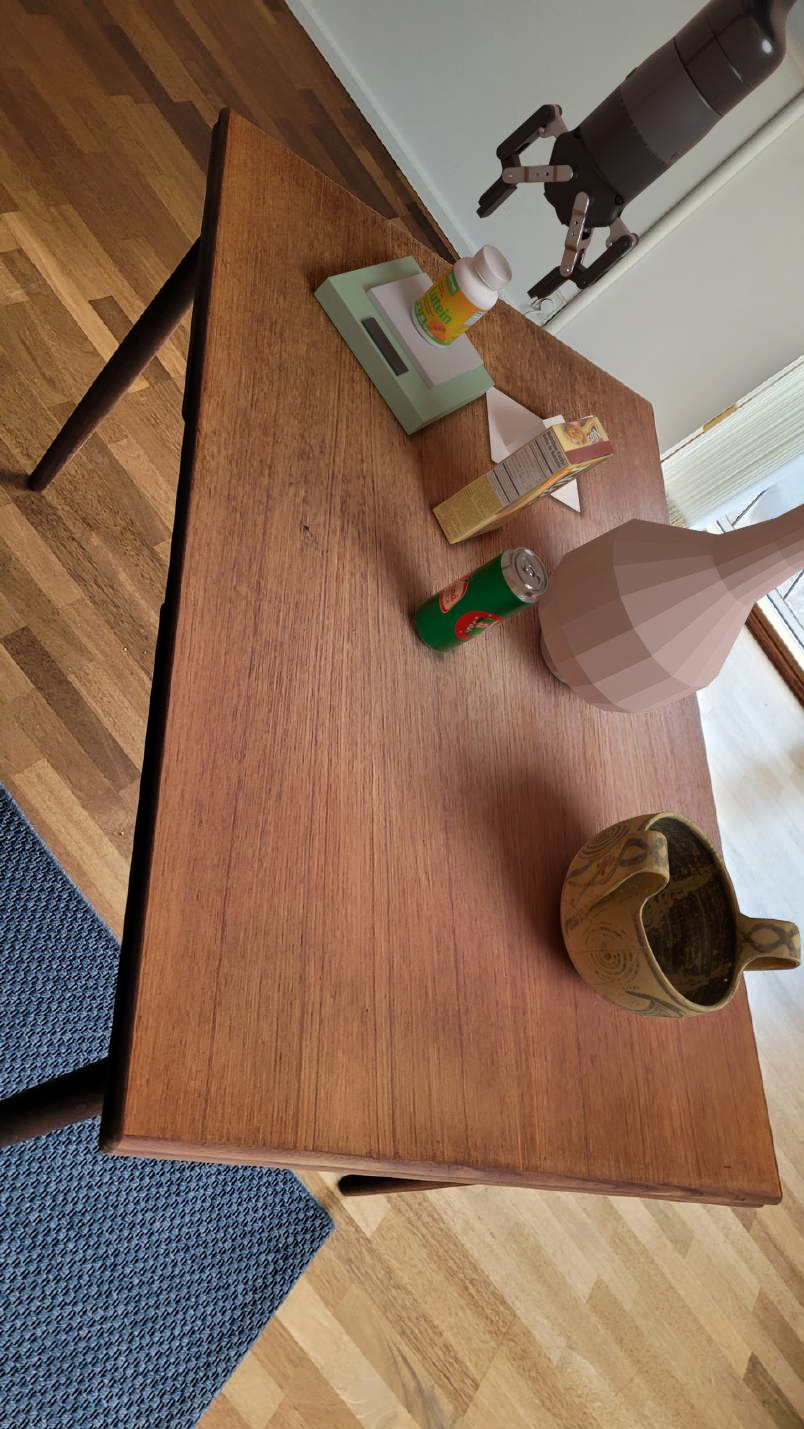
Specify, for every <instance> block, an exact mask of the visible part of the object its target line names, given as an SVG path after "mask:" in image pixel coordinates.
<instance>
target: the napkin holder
mask: <svg viewBox="0 0 804 1429" xmlns="http://www.w3.org/2000/svg"><path fill="white" fill-rule="evenodd" d="M485 393H486V394H485V395H486V405H487V418H488V430H489V442H490V454H491V461H493V462H495V463H496V464H498V463H499V462H501V461H502V460H504V459H505V458H506V457H508V456H509V455H511V454H512V453H514V452H515V451H516V450H518V449H519V448H521V447H522V446H524V445H525V444H526V443H528V442H529V441H531V440H532V439H534V438H535V437H536V436H538V435H539V434H540V433H542V432H543V431H545V430H546V429H547V428H549V427H550V426H552V425H556V424H561V423H566V422H567V421H566V420H565V419H564V417H563V415H562V414H558V415H554V416H552V417H549V418H546V419H542V418H541V417H539V416H538V415H536V414H535V413H533V412H532V411H530V410H529V409H527V408H526V407H525V406H523V405H521V404H519V403H518V402H517V401H516V400H514V399H512V398H510V397H509V396H508V395H506V394H504V392H502V391H500V390H499V389H497V388H496V387H495V386H492V387H491V388H490V389H489V390H488V391H486V392H485ZM588 417H594V415H593V414H592V415H591V414H590V415H588V416H585V417H581V418H579V419H578V420H580V419H584V418H588ZM549 496H551V497H553V498H555V499H557V500H558V501H560V502H562V503H564V504H565V505H567V506H568V507H570V508H572V509H573V510H574V511H576V512H578V513H581V508H580V500H579V491H578V484H577V478H576V479H574V480H573V481H571V482H570V483H568V484H566V485H565V486H563V487H561V488H560V489H558V490H557V491H555V492H553V493H552V494H550V495H549Z"/></svg>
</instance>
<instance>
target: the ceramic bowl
mask: <svg viewBox="0 0 804 1429" xmlns="http://www.w3.org/2000/svg"><path fill="white" fill-rule="evenodd" d="M559 903H560V904H559V905H560V906H559V907H560V908H559V909H560V910H559V920H560V921H559V922H560V928H561V935H562V940H563V942H564V943H563V944H564V946H565V948H566V951H567V954H568V956H569V959H570V961H571V963H572V965H573V967H574V969H575V971H576V972H577V973H578V975H579V976H580V978H581V979H582V980H583V981H584V983H585V984H586V985H587V986H589V987H590V989H591V990H592V991H593V992H595V994H597V995H598V996H599V997H601V998H602V999H604V1000H605V1001H606V1002H607V1003H609V1004H611V1005H612V1006H614V1007H615V1008H618V1009H620V1010H622V1011H625V1012H626V1013H630V1014H632V1015H636V1016H640V1017H646V1018H651V1019H673V1020H675V1019H676V1020H677V1019H678V1020H680V1019H685V1018H690V1017H696V1016H700V1015H705V1014H708V1013H711V1012H716V1011H719V1010H721V1009H723V1008H725V1007H726V1006H727V1005H728V1004H729V1003H730V1002H731V1000H732V999H733V998H734V997H735V994H736V992H737V991H738V988H739V986H740V983H741V977H742V974H743V972H767V971H791V970H795V969H797V968H798V967H800V966H801V965H802V951H801V950H802V948H801V947H802V945H801V944H802V941H801V933H800V929H799V926H798V925H797V924H796V923H795V922H793V921H789V920H782V919H777V918H768V917H767V918H766V917H750V916H749V915H747V914H744V913H743V912H741V909H740V904H739V900H738V897H737V893H736V889H735V885H734V882H733V880H732V878H731V875H730V873H729V870H728V868H727V866H726V863H725V862H724V859H723V857H722V855H721V853H720V851H719V850H718V848H717V847H716V845H715V843H714V842H713V840H712V839H711V838H710V837H709V836H708V835H707V833H706V832H705V830H704V829H703V828H702V827H701V826H700V825H699V824H698V823H697V822H695V821H694V820H693V819H691V818H690V817H689V816H687V815H686V814H683V813H681V812H678V811H673V810H670V811H669V810H668V811H661V812H653V813H646V814H640V815H637V816H633V817H630V818H627V819H623V820H621V821H618V822H615V823H614V824H612V825H610V826H608V827H606V828H604V829H602V830H601V831H599V832H598V833H597V834H595V835H594V836H592V837H591V838H590V839H589V840H587V842H586V843H584V844H583V846H582V847H580V849H579V850H578V851H577V853H576V855H575V856H574V858H573V859H572V860H571V863H570V864H569V867H568V869H567V872H566V875H565V878H564V881H563V885H562V889H561V895H560V901H559Z"/></svg>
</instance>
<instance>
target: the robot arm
mask: <svg viewBox="0 0 804 1429" xmlns="http://www.w3.org/2000/svg"><path fill="white" fill-rule="evenodd" d="M797 2H798V0H709V1H708V2H707V3H706V4H705V5H703V7H702V8H701V9H700V10H699V11H698V12H697V13H696V14H695V15H694V16H693V17H692V18H691V19H690V20H689V21H688V22H687V23H686V24H684V25H683V27H681V29H679V31H678V32H676V34H675V35H673V36H672V37H671V38H670V39H669V40H667V42H665V43H663V45H661V46H660V47H659V48H657V49H656V50H654V51H653V52H652V53H651V54H650V55H649V56H647V58H645V59H644V60H643V61H642V62H641V63H639V65H638V66H636V67H634V68H633V69H632V70H631V71H630V72H629V73H628V74H627V75H626V76H625V78H624V80H622V82H620V84H619V85H617V86H616V88H615V89H613V91H612V92H610V93H609V94H608V95H607V96H606V97H605V98H604V99H603V100H602V101H601V102H600V103H599V104H598V105H597V106H596V107H595V108H594V109H593V111H591V112H590V113H589V114H588V115H587V116H586V117H584V119H583V120H582V121H581V122H580V123H579V124H578V125H577V126H576V127H574V128H573V129H572V130H569V129H568V127H567V125H566V123H565V121H564V120H563V117H562V115H563V108H562V106H561V105H560V104H557V103H549V104H548V103H547V104H542V105H541V106H540V107H539V108H537V109H536V111H535V112H533V113H532V114H531V115H530V116H529V117H528V118H527V119H526V120H525V121H524V122H522V123H521V125H519V126H518V127H517V128H516V129H515V130H514V131H512V133H511V134H510V135H508V137H506V138H505V139H504V140H503V141H502V142H501V143H500V144H499V145H497V147H496V150H495V155H496V157H497V159H498V160H499V161H500V165H501V174H500V175H499V177H498V178H497V179H496V181H494V182H493V183H492V184H491V185H490V186H489V187H488V188H487V189H486V190H485V192H483V193H482V195H480V197H479V198H478V201H477V203H478V205H479V207H478V208H477V209H476V211H475V212H476V214H477V215H478V217H479V219H484V218H488V217H490V216H491V215H492V214H493V213H495V211H496V210H497V209H499V207H500V206H502V205H503V204H504V202H505V201H506V200H508V198H510V197H511V195H512V194H514V193H515V192H516V191H517V190H518V186H517V185H518V184H535V183H537V184H538V183H543V191H544V192H543V193H542V194H543V196H544V198H545V199H546V201H547V202H548V203H549V204H550V205H551V207H553V208H554V211H555V214H556V217H557V219H558V221H559V223H560V224H561V226H563V225H564V226H565V227H567V232H566V237H565V240H564V245H563V246H564V251H563V253H562V258H561V263H560V265H556V266H555V267H554V268H552V269H551V270H550V271H549V272H548V273H547V274H545V275H544V276H543V278H541V279H540V280H539V281H537V282H536V283H535V284H534V285H533V286H532V287H531V288H529V289H528V290H527V291H526V293H527V295H528V297H529V299H531V300H533V299H534V298H537V299H538V300H542V299H545V298H548V297H550V296H551V295H552V294H553V293H555V292H556V291H557V290H558V289H560V288H561V287H562V286H563V285H564V284H565V283H567V281H571V282H572V283H574V284H575V286H576V288H577V289H579V290H581V291H583V290H586V289H588V288H590V287H593V286H594V285H596V284H597V283H598V282H599V281H600V280H602V278H604V276H606V275H607V274H608V273H609V272H610V271H612V269H613V268H614V267H615V266H617V265H618V264H619V263H620V262H621V261H622V260H623V259H624V258H625V257H626V256H628V254H629V253H631V251H633V250H634V249H635V248H636V247H637V246H638V244H639V241H640V238H639V235H638V234H637V233H636V232H631V231H630V230H629V228H628V227H627V225H626V224H625V222H624V221H623V220H622V219H621V216H622V214H623V212H624V210H625V209H626V207H627V206H628V205H629V204H630V203H631V202H632V201H633V200H635V199H636V198H638V196H639V195H640V194H642V193H643V192H644V191H645V190H647V189H648V188H649V187H650V186H651V185H652V184H653V183H654V182H656V180H658V179H659V178H660V177H661V176H662V175H663V174H665V173H666V172H667V171H668V170H669V169H670V168H672V167H673V166H674V165H675V164H676V163H677V162H678V161H680V160H681V159H682V158H683V157H684V156H685V155H687V154H688V153H689V152H690V151H691V150H692V149H693V148H695V147H696V146H697V145H698V144H699V143H700V142H701V141H702V140H703V139H704V138H705V137H706V136H707V135H708V134H709V133H710V132H711V130H712V129H714V127H715V126H716V125H717V124H718V123H719V122H720V121H721V120H722V119H723V118H724V117H725V116H726V115H728V114H729V113H730V112H731V111H732V110H733V109H734V108H736V107H737V106H738V105H739V104H740V103H741V102H742V101H743V100H745V99H746V98H747V97H748V96H749V95H751V94H752V93H753V92H754V91H755V90H756V89H757V88H759V87H760V86H761V85H762V84H763V83H764V82H766V81H767V80H768V78H769V77H771V76H772V75H773V74H774V73H775V72H776V71H777V69H779V67H780V66H781V65H782V63H783V62H784V59H785V57H786V53H787V29H786V28H787V27H786V26H787V20H788V16H789V14H790V12H791V11H792V9H793V7H794V6H795V5H796V3H797ZM552 137H554V139H555V140H554V143H553V147H552V150H551V153H550V158H549V161H548V164H537V165H522V163H521V158H520V155H521V154H523V153H524V151H526V150H527V149H528V148H529V147H530V146H531V145H532V144H533V143H534V142H535V141H537V140H539V138H541V139H550V138H552ZM595 228H597V229H598V228H599V229H600V228H608V229H609V235H608V236H607V238H606V240H605V248H606V249H605V251H604V252H602V254H600V256H598V257H597V258H596V259H595V260H594V261H593V262H592V263H591V264H590V265H589V266H587V267H586V266H585V265H583V264H584V259H585V257H586V253H587V249H588V247H589V246H590V245H591V242H592V238H593V234H594V231H595Z"/></svg>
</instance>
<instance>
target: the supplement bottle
mask: <svg viewBox="0 0 804 1429" xmlns="http://www.w3.org/2000/svg"><path fill="white" fill-rule="evenodd" d="M512 279H513V271H512V268H511V265H510V264H509V262H508V259H507V258H506V257H505V255H504V254H503V253H502V252H501V251H500V250H499V249H498V248H497V247H495V246H494V245H491V244H484V245H483V246H482V247H481V248H480V249H479V250H478V251H477V252H476V253H475V254H474V255H473V257H471V256H463V257H461V258H459V259H458V260H457V261H456V262H455V263H454V264H453V265H452V266H451V267H450V268H448V269H447V271H445V272H444V274H442V275H441V276H440V278H438V279H437V280H436V281H435V282H434V283H433V285H432V286H431V287H430V288H429V289H428V290H427V291H426V292H425V293H424V294H423V295H422V296H421V297H420V298H419V299H418V300H417V301H416V302H415V303H414V305H413V306H412V311H411V313H412V319H413V322H414V324H415V326H416V328H417V330H418V331H419V333H420V334H421V335H422V336H423V338H424V339H425V340H426V341H428V342H429V343H430V344H432V345H433V346H435V347H437V348H446V347H448V346H449V345H450V344H451V343H453V342H454V341H455V340H456V339H457V338H458V337H459V336H460V335H462V334H463V333H464V332H465V333H466V331H467V330H469V328H471V327H472V326H473V325H474V324H475V323H477V321H478V320H480V319H481V318H483V316H484V315H486V313H487V312H489V311H490V310H491V309H492V308H493V307H494V306H495V305H496V303H497V301H498V298H499V291H500V290H502V289H504V288H505V287H506V286H507V285H508V284H509V283H510V282H511V281H512Z"/></svg>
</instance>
